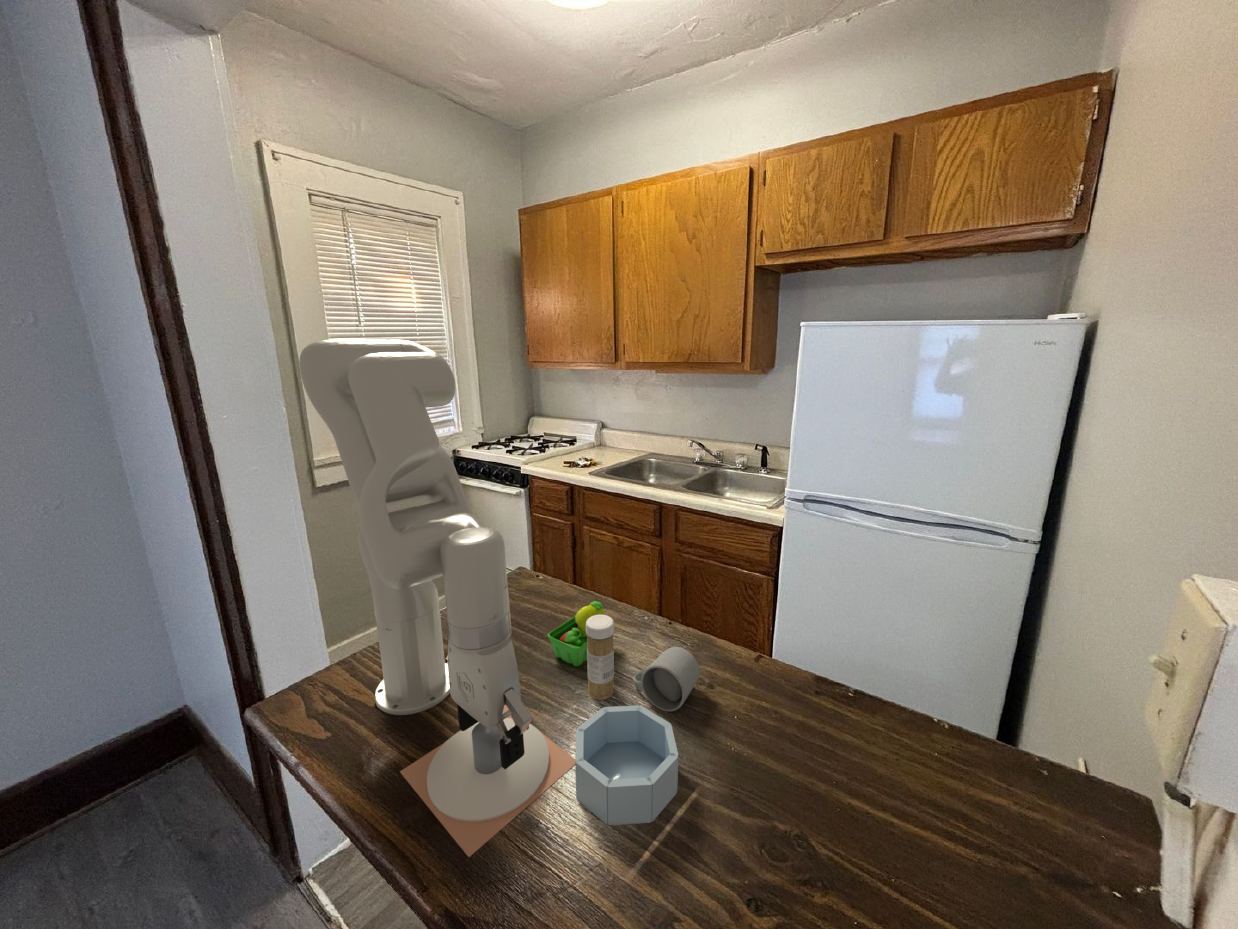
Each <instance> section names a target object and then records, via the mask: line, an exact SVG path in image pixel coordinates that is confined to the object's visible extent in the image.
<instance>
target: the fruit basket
mask: <svg viewBox="0 0 1238 929" xmlns="http://www.w3.org/2000/svg"><path fill="white" fill-rule="evenodd" d="M594 615H605V610H604V605H603V603H602V602H600V601H597V600H596V601H591V602H590V603H589V605H586V606H583V607H581V608H580V609H579V610H578V611H577V612H576V614H575V616H573V617H572V618H570V619H569V620H567V621H565V622H564V623H562V624H561V625H559V626H558V627H556V628H555V629H553V630H551V631H550V632H548V633H547V637H548V640H549V641H550V644H551V647H552V650H553V653H554V655H555V657H556V658H558V659H561V660H562V661H564V662H566V663H567V664H572V666H574V667H580V666H581V665H583V663H584V662H587V634H586V621H587V620H588V619H589V618H590V617H592V616H594Z"/></svg>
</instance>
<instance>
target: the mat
mask: <svg viewBox="0 0 1238 929" xmlns="http://www.w3.org/2000/svg"><path fill="white" fill-rule="evenodd" d="M508 710H509V709H508V707H507V706H506V705H504V709H503V713H505V712H506V711H508ZM503 713H502V714H503ZM507 718H512V717H511V715H510V716H508V717H507ZM541 734H542V735H543V736H544V738H545V740H546V742H547V745H548V750H549V765H548V770H547V774H546V776H545V779H544V781H543V783H542V784H541V786H540V787H539V789H538V790H537V791H536V793H535V794H534V795H533V796H532V797H531V798H530V799H529V800H528V801H527V802H526V803H524V804H523V805H522V806H521V807H519V808H518V809H516V810H514V811H513V812H511V813H509V814H507V815H505V816H502V817H500V818H497V819H494V820H490V821H486V822H478V823H467V822H460V821H456V820H453V819H450V818H448V817H446V816H444V815H443V814H442V813H440V812H439V811H438V810H437V809H436V808H435V807H434V805H433V804H432V802H431V800H430V798H429V794H428V790H427V773H428V769H429V766H430V763H431V761H432V759H433V757H434V756H435V754H436V753H437V751H438V750H439V749H440V747H441V746H442V745H443V744H444V743H445V742H443V743H442V744H440V745H438V746H437V747H435V748H434V749H432V750H431V751H428V753H426V754H425V755H423V756H422V757H420V758H418V759H417V760H415V761H414V762H413V763H411V764H410V765H408V766H406V767H405V768H403V769H402V770H400V771H399V773H400V774H401V775H402V777H403V778H404V779H405V780H406V782H408V784H409V785H410V786H411V788H412V789H413V790H414V791H415V793H416V794H417V796H419V798H420V799H421V800H422V802H424V804H425V806H426V807H427V808H429V810H430V811H431V813H432V814H433V815H434V816H435V818H436V819H437V820H438V822H439V823H440V824H441V825H442V826H443V827H444V829H445V830H446V831H447V832H448V833H449V835H450V836H451V837H452V839H453V840H454V841H455V843H457V845H458V846H459V847H460V849H461V850H462V851H463V852H464V853H465V855H466V856H467V858H470V857H472V855H473V854H475V853H476V852H477V851H478V850H479V849H481V847H483V846H484V845H485V844H486V843H487V842H488V841H490V840H491V839H492V838H493V837H495V835H497V834H498V833H499V832H500V831H502V829H504V828H505V827H506V826H507V825H508V824H509V823H510V822H511V821H512V820H514V819H515V818H516V817H517V816H519V815H520V813H522V812H523V811H524V810H525V809H526V808H527V807H529V806H530V805H531V804H532V803H533V802H535V800H537V799H538V798H539V797H540V796H541V795H542V794H543V793H545V792H546V791H547V790H548V789H550V787H551V786H553V785H554V784H555V783H556V782H557V781H559V779H561V778H562V777H563V776H564V775H565V774H567V773H568V771H570V770H571V769H572V768H574V766H575V757H573V756H572V755H570V754H569V753H568V752H567V751H565V750H564V749H563V748H561V747H560V746H559V745H558V744H557V743H555V742H554V741H553V740H552V739H550V738H549V737H548V736H547V735H545V734H544V733H543V732H541Z"/></svg>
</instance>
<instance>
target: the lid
mask: <svg viewBox="0 0 1238 929" xmlns="http://www.w3.org/2000/svg"><path fill="white" fill-rule="evenodd" d="M503 721H504V723H505V725H506V728H507V730H510V729H511V728H512V727H514V726H515V723H514V721H513V719H512V718H505V719H504V720H503ZM541 733H542V731H540V729H538V728H537V727H535V726H534V725H533V724H531V723H530V724H529V729H528V730H526V731H525V732H523V739H524V755H523V756H522V757H521V758H520V759H518V760H517V761H516V762H515V763H513V764H512V765H511V766H509V767H508V768H507V769H504V768H503V767H502V766H501V756H500V745H499V741H500V740H501V739H502V737H501V735H500V733H499V730H498V728H497V726H496V725H495V726H494V727H493V728H488V727H486V726H484V725H482V724H481V723H479V722H478V723H476V724H474V725H473V726H471V727H470V728H468V729H467V730H465V731H461V730H459V731H457V732H456V733H455V734H454V735H452V736H451V737H449V738H448V739H447V740H446V741H444V742H443V743H444V744H443V743H442V744H443V745H442V744H441V745H442V746H441V747H440V749H439V750H438V751H437V753H436V754H435V756H434V757H433V759H432V761H431V763H430V766H429V769H428V773H427V790H428V794H429V798H430V800H431V802H432V804H433V805H434V807H435V808H436V809H437V810H438V811H439V812H440V813H442V814H443V815H444V816H446V817H448V818H450V819H453V820H456V821H460V822H467V823H478V822H486V821H490V820H494V819H497V818H500V817H502V816H505V815H507V814H509V813H511V812H513V811H514V810H516V809H518V808H519V807H521V806H522V805H523V804H524V803H526V802H527V801H528V800H529V799H530V798H531V797H532V796H533V795H534V794H535V793H536V791H537V790H538V789H539V787H540V786H541V784H542V783H543V781H544V779H545V776H546V774H547V770H548V765H549V750H548V745H547V742H546V740H545V738H544V736H543V735H542V734H541Z"/></svg>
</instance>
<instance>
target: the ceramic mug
mask: <svg viewBox="0 0 1238 929" xmlns="http://www.w3.org/2000/svg"><path fill="white" fill-rule="evenodd" d="M699 677H700V664H699V662H698V659H697V658H696V656H694V654H693V653H692V652H691V651H689V650H688V649H686V648H684V647H682V646H672V647H669V648H667V649H665V650H664V651H663V652H662V653H660V654H659V656H657V658H656V659H655V660H654V661H652V662H651V663H650V664H649V666H647V667H644V668H642V669H640V670H639V671H638V672H637V673H635V675H634V676H633V678H632V679H633V684H634V686H635V688H636V690H638V691H642V692H643V694H644V696H645V697H646V700H648V701H649V702H650V704H651V705H653V706H654V707H655V708H658V709H659V710H662V711H663V712H664V711H665V712H675V711H678V710H679V709H680V708H681V707H682V706H683V705H684V703H685V701H686V700H687V699H688V697H689V696H690V693H691V692H692V690H693V689H694V687H695V686H696V684H697V682H698V680H699Z"/></svg>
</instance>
